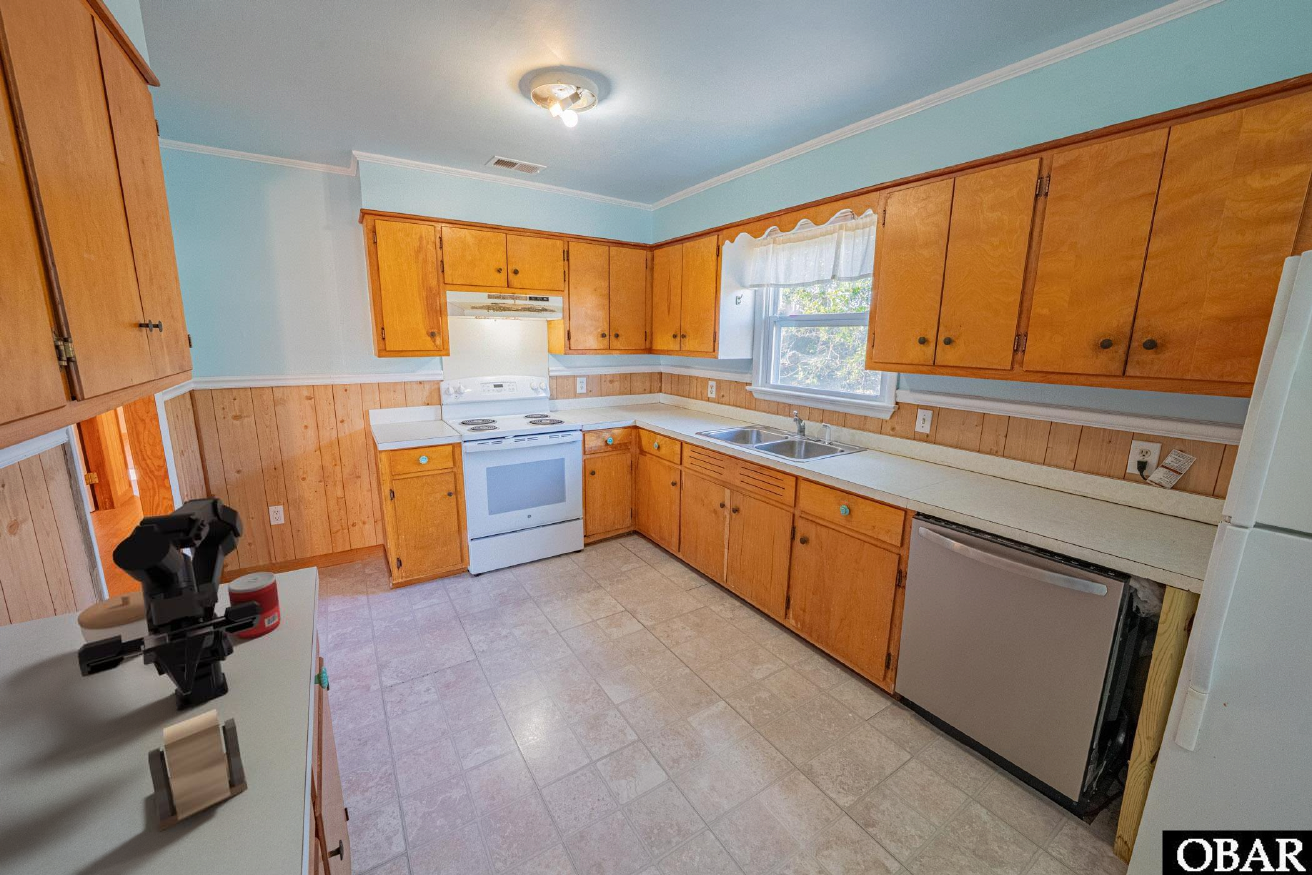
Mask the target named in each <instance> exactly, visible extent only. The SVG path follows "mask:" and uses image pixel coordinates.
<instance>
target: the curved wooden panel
mask: <svg viewBox="0 0 1312 875" xmlns="http://www.w3.org/2000/svg"><path fill="white" fill-rule="evenodd" d="M220 728H221V727H220V721H219V718H218V712H217V709H216V708H215V709H212V710H209V711H207V712H204V713H202V714H199V715H196V716H194V717H191V718H188V719H186V720H183V721H180V722H178V723H176V724H173V725H170V726H168V727H165V728H163V729H162V730H163V732H162V734H163V746H164V753H165V758H166V763H167V769H168V774H169V777H170V778H171V784H172V789H173V794H174V799H175V805H176V810H177V815H178V820H180V819H182V818H184V817H186V816H188V815H190V814H193V813H195V812H197V811H199V810H201V809H203V808H205V807H207V806H209V805H211V804H213V803H215V802H217V801H219V800H221V799H224V798H226V797H228V796H230V789H229V783H228V776H227V770H226V764H225V758H224V753H225V752H224V748H223V742H222V741H223V740H222V735H221V729H220Z"/></svg>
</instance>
